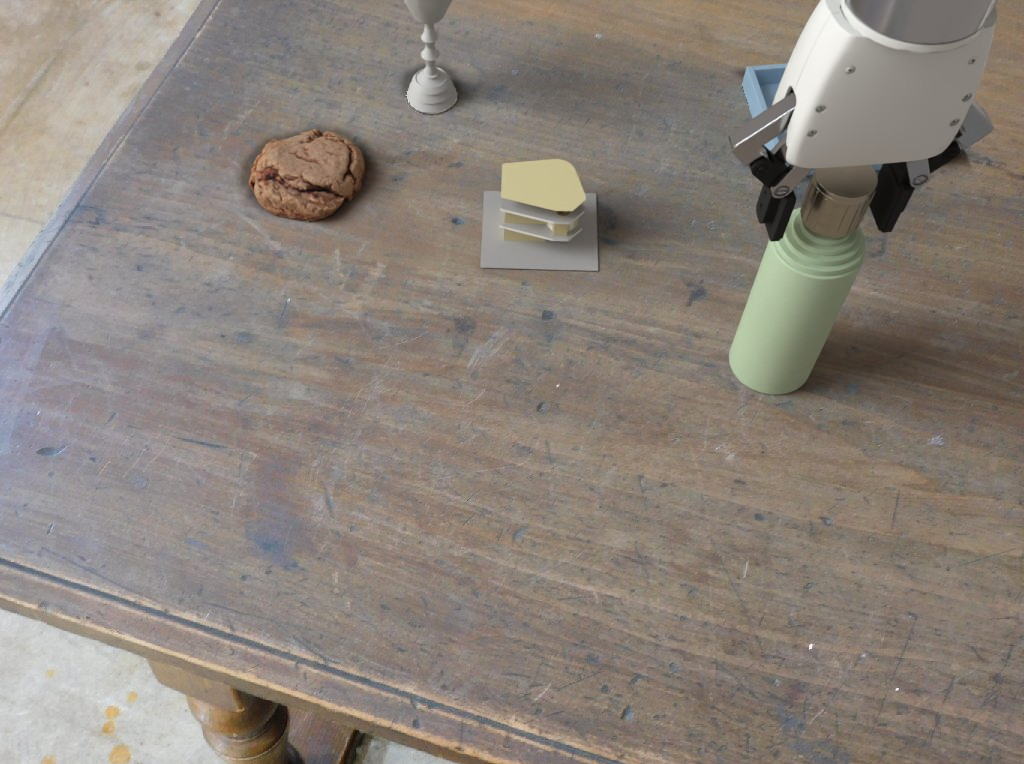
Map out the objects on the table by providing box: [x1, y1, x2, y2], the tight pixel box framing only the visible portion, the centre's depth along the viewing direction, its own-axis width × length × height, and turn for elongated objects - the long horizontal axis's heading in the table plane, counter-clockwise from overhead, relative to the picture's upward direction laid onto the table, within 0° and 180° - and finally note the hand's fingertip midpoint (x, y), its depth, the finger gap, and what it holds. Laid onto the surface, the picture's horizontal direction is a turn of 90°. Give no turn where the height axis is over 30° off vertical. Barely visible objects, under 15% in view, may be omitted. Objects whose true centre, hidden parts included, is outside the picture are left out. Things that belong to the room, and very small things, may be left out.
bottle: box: [728, 207, 868, 396], centre depth 78 cm, size 6×6×20 cm
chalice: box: [403, 0, 458, 113], centre depth 95 cm, size 7×7×18 cm
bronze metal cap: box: [800, 165, 878, 238], centre depth 70 cm, size 4×4×4 cm
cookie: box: [248, 128, 366, 222], centre depth 96 cm, size 10×11×3 cm
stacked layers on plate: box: [479, 158, 599, 272], centre depth 91 cm, size 10×9×6 cm
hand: (824, 219), depth 72 cm, fingers open, 6 cm apart
